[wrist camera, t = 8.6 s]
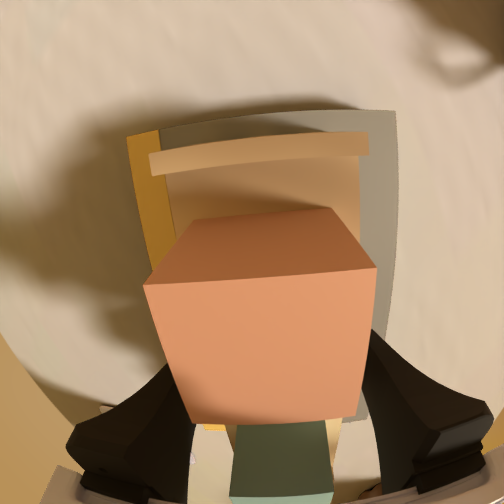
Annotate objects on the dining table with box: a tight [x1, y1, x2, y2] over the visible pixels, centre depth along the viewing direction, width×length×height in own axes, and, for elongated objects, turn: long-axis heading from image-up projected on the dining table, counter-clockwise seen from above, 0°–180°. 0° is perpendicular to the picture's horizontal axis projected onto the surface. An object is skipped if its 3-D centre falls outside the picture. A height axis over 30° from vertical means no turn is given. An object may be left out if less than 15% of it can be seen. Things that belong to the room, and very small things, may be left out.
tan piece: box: [149, 132, 369, 482], centre depth 13 cm, size 18×6×6 cm, turn 6°
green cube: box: [229, 420, 334, 504], centre depth 11 cm, size 4×4×4 cm
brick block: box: [143, 208, 377, 425], centre depth 7 cm, size 4×4×4 cm
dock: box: [126, 110, 399, 431], centre depth 17 cm, size 20×12×3 cm, turn 6°
